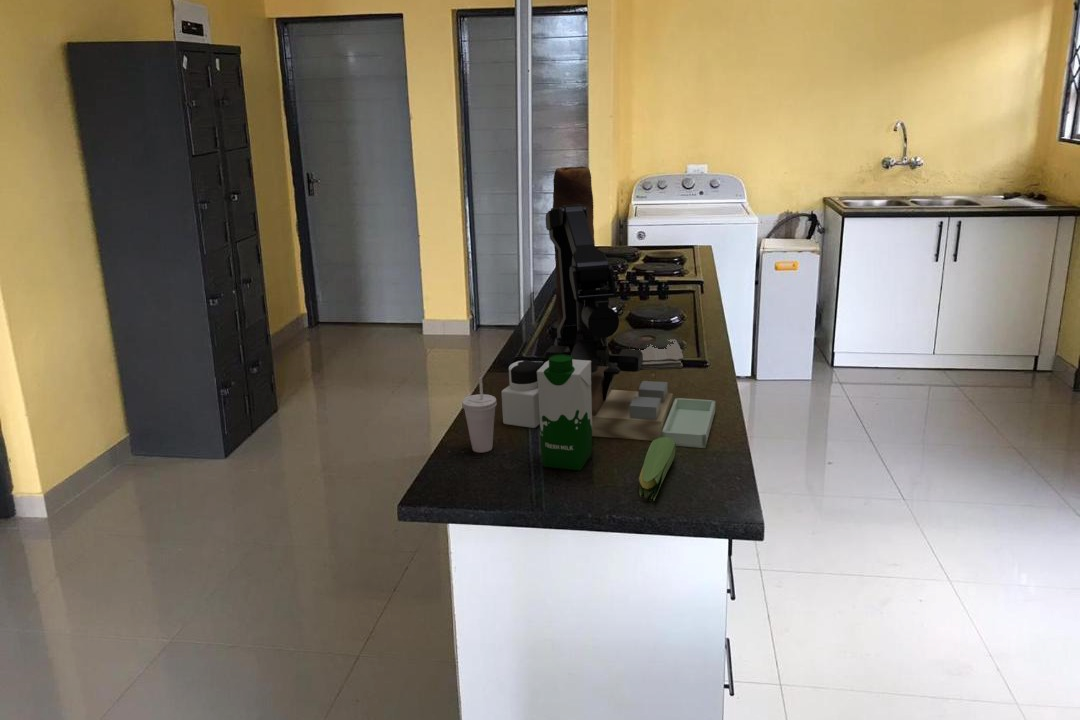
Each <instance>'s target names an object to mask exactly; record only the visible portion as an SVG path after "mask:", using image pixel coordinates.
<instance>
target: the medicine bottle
mask: <svg viewBox="0 0 1080 720" xmlns="http://www.w3.org/2000/svg"><path fill="white" fill-rule="evenodd" d="M539 369H540V365H539V364H538V363H537V362H535V361H532V360H518V361H515V362H513V363H510V365H509V366H508V378H509V379H508V380H509V382H508V383H509V385H508V386H507V387H505V388H504V389H502V390H501V391H500V392H501V408H502V409H501V410H502V422H503V424H504V425H510V426H517V427H523V428H530V429H531V428H532V429H535V428H537V427H538V426H540V416H539V394H538V380H537V371H538V370H539Z"/></svg>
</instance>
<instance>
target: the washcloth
mask: <svg viewBox="0 0 1080 720" xmlns="http://www.w3.org/2000/svg"><path fill="white" fill-rule="evenodd" d="M667 340H668V339H667ZM668 341H670V342H672V341H673V343H674V344H670V345H671V346H670V345H669V344H668V345H667V347H666V348H667V349H665V348H664V349H658V348H654V347H652V346H653V345H651V344H650V346H649V347H647V348H646V349H644V350H641V352H642V354H643V363H642V365H641V367H640V369H639V370H668V369H669V370H673V369H675V370H677V369H681V368H683V367H684V365H683V362H681V361H682V360H684V355H683V350H682V348H681V347H680V344H679V343H678V341H677V339H675V338H674V339H673V338H672V339H670V340H668ZM674 341H675V342H674ZM647 346H648V345H647ZM655 347H656V346H655ZM639 350H640V349H639Z"/></svg>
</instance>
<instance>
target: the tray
mask: <svg viewBox="0 0 1080 720" xmlns="http://www.w3.org/2000/svg"><path fill="white" fill-rule="evenodd" d="M715 414H716V400H715V399H714V400H712V399H711V400H710V399H698V398H683V397H681V398H680V397H675V398H674V399H673V405H672V408H671V410H670V413H669V415H668V418H667V420H666V423H665V425H664V428H663V430H662V437H667V438H670V439H672V440H673V441H674V442H675V443H676V447H686V448H701V449H706V447H707V444H708V441H709V437H710V433H711V429H712V425H713V421H714V418H715Z"/></svg>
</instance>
